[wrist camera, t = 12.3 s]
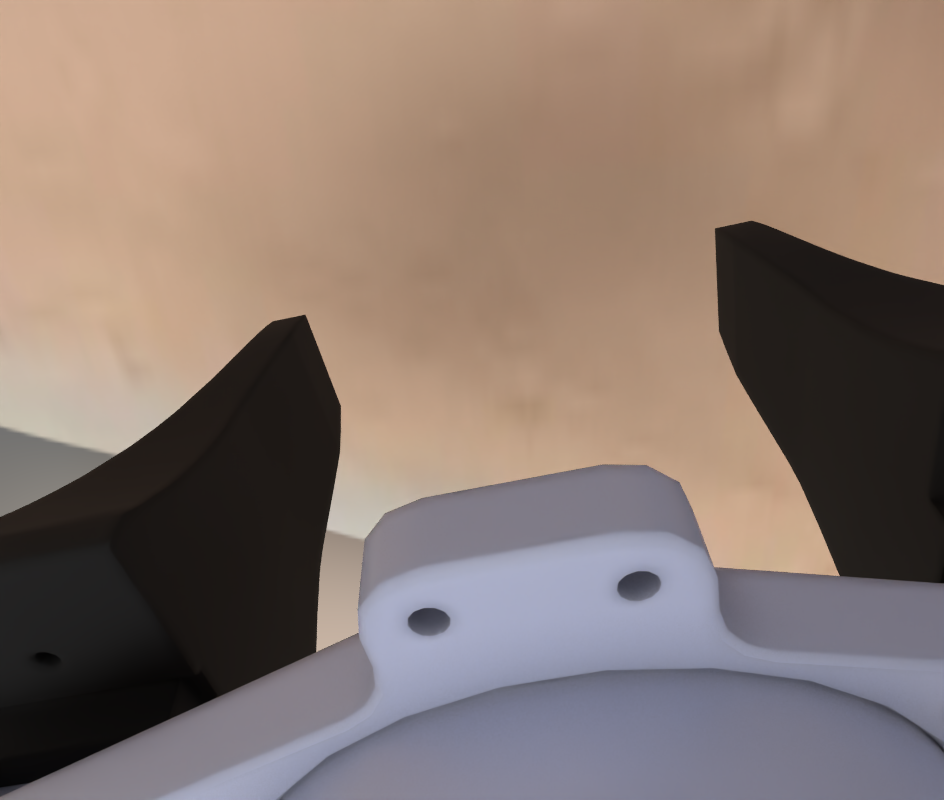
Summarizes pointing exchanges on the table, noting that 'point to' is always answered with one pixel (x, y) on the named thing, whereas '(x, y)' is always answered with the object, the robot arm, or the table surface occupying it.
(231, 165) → the table surface
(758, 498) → the table surface
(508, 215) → the table surface
